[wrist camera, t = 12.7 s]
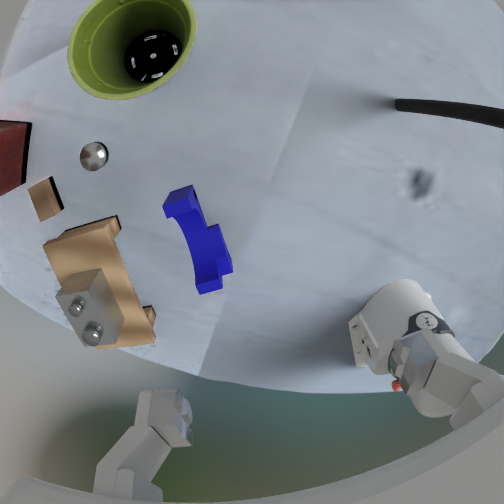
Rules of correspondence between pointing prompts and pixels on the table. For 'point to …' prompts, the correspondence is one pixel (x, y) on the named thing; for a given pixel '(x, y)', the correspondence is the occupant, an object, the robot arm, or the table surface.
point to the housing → (91, 308)
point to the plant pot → (129, 45)
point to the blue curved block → (200, 239)
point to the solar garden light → (454, 110)
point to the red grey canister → (13, 153)
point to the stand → (108, 258)
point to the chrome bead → (94, 156)
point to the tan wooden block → (46, 199)
